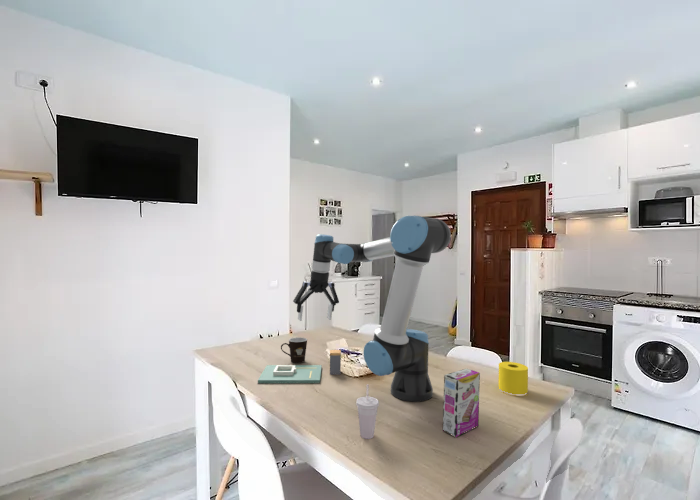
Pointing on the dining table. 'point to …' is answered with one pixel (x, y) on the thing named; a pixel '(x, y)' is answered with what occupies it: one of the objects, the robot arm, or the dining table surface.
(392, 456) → the dining table surface
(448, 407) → the candy bar box
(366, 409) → the smoothie
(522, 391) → the yellow toilet paper roll
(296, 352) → the coffee mug
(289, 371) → the board
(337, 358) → the plug
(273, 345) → the dining table surface
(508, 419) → the dining table surface
